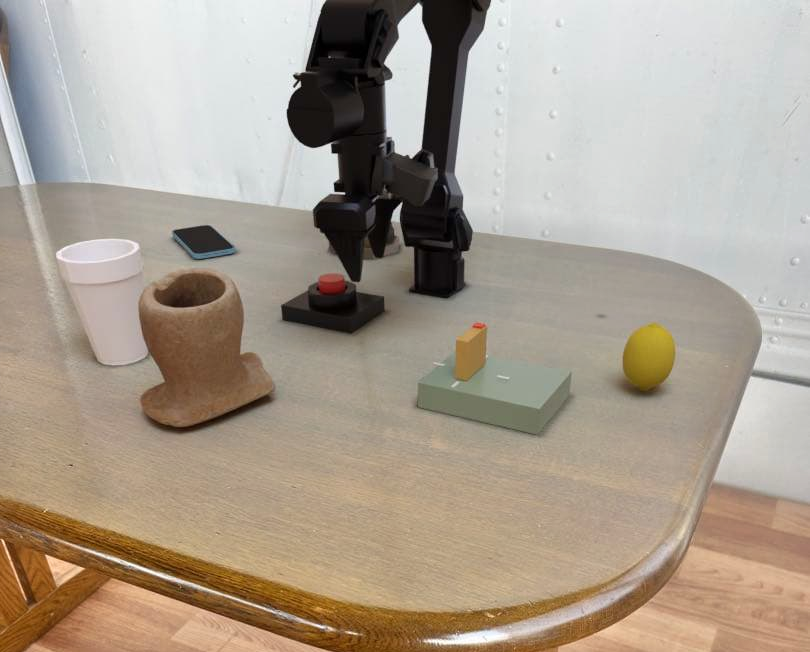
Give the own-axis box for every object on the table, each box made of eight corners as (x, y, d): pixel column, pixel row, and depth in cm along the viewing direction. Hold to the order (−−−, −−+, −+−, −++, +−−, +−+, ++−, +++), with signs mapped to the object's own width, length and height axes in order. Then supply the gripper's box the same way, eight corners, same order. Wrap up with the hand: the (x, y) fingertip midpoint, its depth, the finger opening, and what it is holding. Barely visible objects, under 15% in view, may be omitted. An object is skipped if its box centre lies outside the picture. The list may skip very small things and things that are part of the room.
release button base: (282, 320, 111) (279, 291, 108) (318, 299, 117) (316, 272, 115) (351, 334, 107) (349, 304, 104) (384, 311, 113) (383, 283, 111)
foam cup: (175, 345, 105) (155, 242, 97) (133, 374, 98) (108, 266, 90) (113, 337, 107) (88, 236, 99) (68, 365, 100) (38, 258, 92)
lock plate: (413, 406, 90) (412, 379, 88) (452, 371, 97) (452, 346, 95) (537, 435, 84) (539, 407, 82) (569, 396, 91) (572, 370, 89)
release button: (313, 292, 109) (312, 279, 108) (328, 284, 112) (327, 271, 111) (336, 296, 108) (335, 283, 107) (350, 288, 110) (349, 275, 109)
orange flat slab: (466, 381, 88) (467, 339, 85) (454, 378, 88) (455, 337, 85) (485, 364, 91) (487, 323, 88) (474, 361, 92) (475, 321, 89)
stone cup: (182, 450, 83) (152, 307, 74) (130, 410, 90) (98, 275, 81) (304, 404, 91) (290, 269, 82) (247, 370, 98) (229, 244, 89)
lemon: (611, 381, 94) (621, 314, 89) (658, 379, 94) (670, 312, 90) (626, 403, 90) (637, 333, 85) (675, 400, 90) (689, 331, 85)
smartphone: (194, 255, 132) (170, 230, 143) (195, 261, 133) (171, 236, 143) (236, 248, 135) (209, 224, 145) (237, 254, 135) (210, 230, 146)
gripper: (407, 150, 82) (410, 301, 92) (450, 117, 96) (448, 250, 106) (305, 146, 85) (317, 293, 94) (361, 115, 99) (367, 245, 108)
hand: (367, 269), depth 101 cm, fingers open, 9 cm apart
